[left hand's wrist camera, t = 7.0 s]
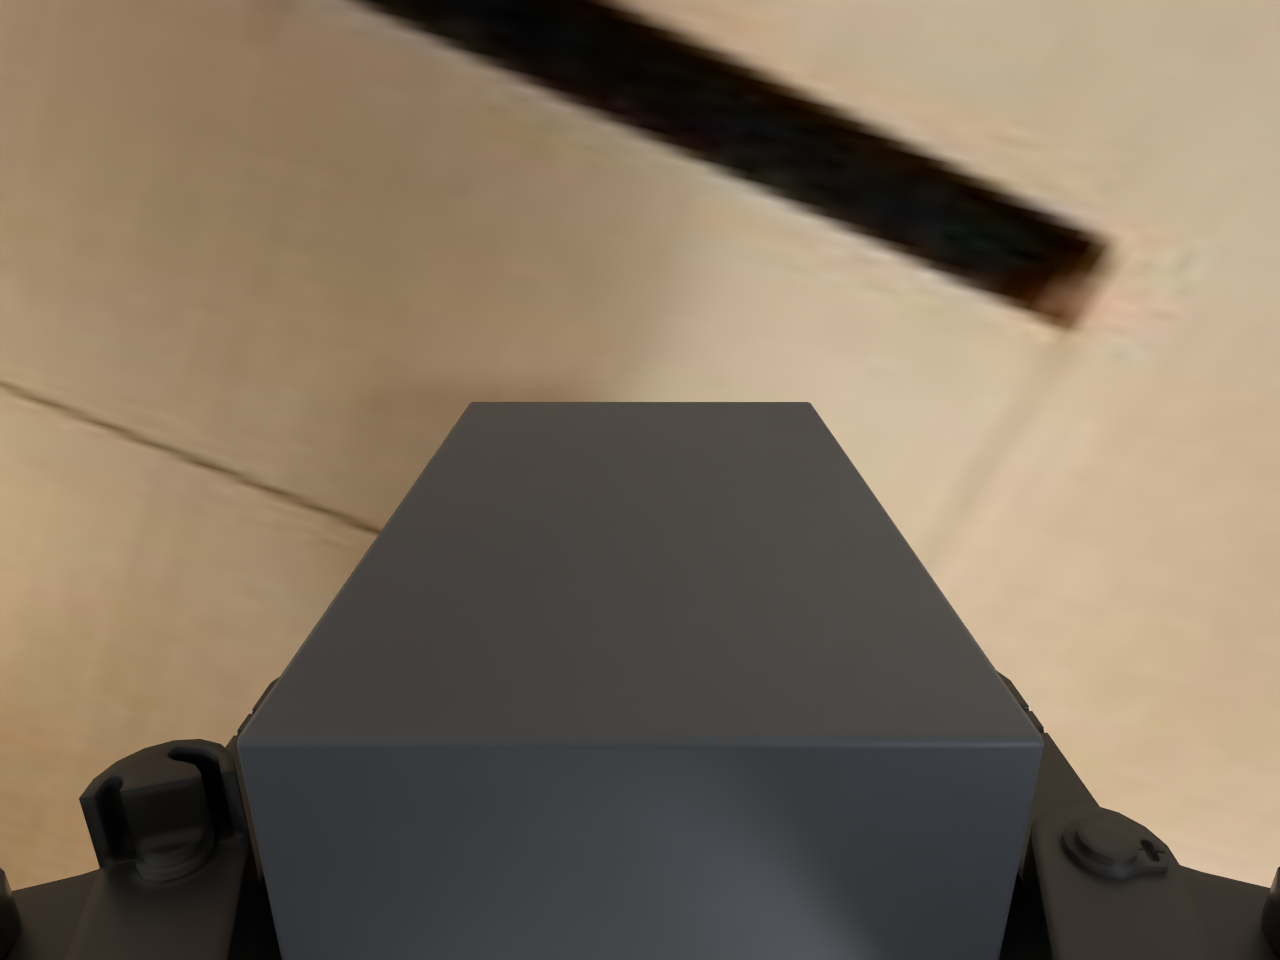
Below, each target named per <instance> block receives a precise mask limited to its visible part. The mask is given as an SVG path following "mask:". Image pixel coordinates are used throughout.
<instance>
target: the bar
mask: <svg viewBox="0 0 1280 960" xmlns="http://www.w3.org/2000/svg"><path fill="white" fill-rule="evenodd" d="M1043 748H1044V742H1043V739H1042V736H1041V735H1040V733H1039V732H1038V730H1037V729H1036V727H1035V726H1034V724H1033V723H1032V722H1031V720H1030V719H1029V717H1028V716H1027V714H1026V713H1025V711H1024V710H1023V709H1022V707H1021V706H1020V704H1019V703H1018V701H1017V700H1016V698H1015V697H1014V696H1013V694H1012V693H1011V691H1010V690H1009V688H1008V687H1007V686H1006V684H1005V683H1004V681H1003V680H1002V678H1001V677H1000V675H999V674H998V673H997V671H996V670H995V668H994V667H993V665H992V664H991V662H990V661H989V660H988V658H987V657H986V655H985V654H984V652H983V651H982V650H981V648H980V647H979V645H978V644H977V642H976V641H975V639H974V638H973V637H972V635H971V634H970V632H969V631H968V629H967V628H966V626H965V625H964V624H963V622H962V621H961V619H960V618H959V616H958V615H957V614H956V612H955V611H954V609H953V608H952V606H951V605H950V603H949V602H948V601H947V599H946V598H945V596H944V595H943V593H942V592H941V590H940V589H939V588H938V586H937V585H936V583H935V582H934V580H933V579H932V577H931V576H930V575H929V573H928V572H927V570H926V569H925V567H924V566H923V565H922V563H921V562H920V560H919V559H918V557H917V556H916V554H915V553H914V552H913V550H912V549H911V547H910V546H909V544H908V543H907V541H906V540H905V539H904V537H903V536H902V534H901V533H900V531H899V530H898V529H897V527H896V526H895V524H894V523H893V521H892V520H891V518H890V517H889V516H888V514H887V513H886V511H885V510H884V508H883V507H882V505H881V504H880V503H879V501H878V500H877V498H876V497H875V495H874V494H873V493H872V491H871V490H870V488H869V487H868V485H867V484H866V482H865V481H864V480H863V478H862V477H861V475H860V474H859V472H858V471H857V469H856V468H855V467H854V465H853V464H852V462H851V461H850V459H849V458H848V456H847V455H846V454H845V452H844V451H843V449H842V448H841V446H840V445H839V444H838V442H837V441H836V439H835V438H834V436H833V435H832V433H831V432H830V431H829V429H828V428H827V426H826V425H825V423H824V422H823V420H822V419H821V418H820V416H819V415H818V413H817V412H816V410H815V409H814V408H813V406H812V405H811V403H808V402H472V403H470V404H469V406H468V407H467V409H466V410H465V411H464V413H463V414H462V416H461V417H460V419H459V420H458V422H457V423H456V424H455V426H454V427H453V429H452V430H451V432H450V433H449V435H448V436H447V437H446V439H445V440H444V442H443V443H442V445H441V446H440V447H439V449H438V450H437V452H436V453H435V455H434V456H433V458H432V459H431V460H430V462H429V463H428V465H427V466H426V468H425V469H424V470H423V472H422V473H421V475H420V476H419V478H418V479H417V481H416V482H415V483H414V485H413V486H412V488H411V489H410V491H409V492H408V493H407V495H406V496H405V498H404V499H403V501H402V502H401V504H400V505H399V506H398V508H397V509H396V511H395V512H394V514H393V515H392V516H391V518H390V519H389V521H388V522H387V524H386V525H385V527H384V528H383V529H382V531H381V532H380V534H379V535H378V537H377V538H376V539H375V541H374V542H373V544H372V545H371V547H370V548H369V550H368V551H367V552H366V554H365V555H364V557H363V558H362V560H361V561H360V563H359V564H358V565H357V567H356V568H355V570H354V571H353V573H352V574H351V575H350V577H349V578H348V580H347V581H346V583H345V584H344V586H343V587H342V588H341V590H340V591H339V593H338V594H337V596H336V597H335V598H334V600H333V601H332V603H331V604H330V606H329V607H328V609H327V610H326V611H325V613H324V614H323V616H322V617H321V619H320V620H319V621H318V623H317V624H316V626H315V627H314V629H313V630H312V632H311V633H310V634H309V636H308V637H307V639H306V640H305V642H304V643H303V644H302V646H301V647H300V649H299V650H298V652H297V653H296V655H295V656H294V657H293V659H292V660H291V662H290V663H289V665H288V666H287V667H286V669H285V670H284V672H283V673H282V675H281V676H280V678H279V679H278V680H277V682H276V683H275V685H274V686H273V688H272V689H271V691H270V692H269V693H268V695H267V696H266V698H265V699H264V701H263V702H262V703H261V705H260V706H259V708H258V709H257V711H256V712H255V714H254V715H253V716H252V718H251V719H250V721H249V722H248V724H247V725H246V726H245V728H244V729H243V731H242V732H241V734H240V735H239V737H238V741H237V750H238V754H239V759H240V764H241V768H242V773H243V778H244V783H245V787H246V792H247V797H248V802H249V806H250V811H251V816H252V821H253V825H254V830H255V835H256V839H257V844H258V849H259V854H260V858H261V863H262V868H263V873H264V877H265V882H266V887H267V891H268V896H269V901H270V906H271V910H272V915H273V920H274V925H275V929H276V934H277V939H278V943H279V948H280V953H281V958H282V960H999V956H1000V951H1001V946H1002V942H1003V937H1004V932H1005V927H1006V923H1007V918H1008V913H1009V909H1010V904H1011V899H1012V894H1013V890H1014V885H1015V880H1016V876H1017V871H1018V866H1019V861H1020V857H1021V852H1022V847H1023V843H1024V838H1025V833H1026V828H1027V824H1028V819H1029V814H1030V810H1031V805H1032V800H1033V795H1034V791H1035V786H1036V781H1037V777H1038V772H1039V767H1040V762H1041V758H1042V753H1043Z"/></svg>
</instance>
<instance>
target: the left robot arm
mask: <svg viewBox="0 0 1280 960" xmlns="http://www.w3.org/2000/svg"><path fill="white" fill-rule="evenodd" d="M997 673H998V674H999V675H1000V677H1001V678H1002V680H1003V681H1004V683H1005V684H1006V686H1007V687H1008V688H1009V690H1010V691H1011V693H1012V694H1013V696H1014V697H1015V698H1016V700H1017V701H1018V703H1019V704H1020V706H1021V707H1022V709H1023V710H1024V711H1025V713H1026V714H1027V716H1028V717H1029V719H1030V720H1031V722H1032V723H1033V724H1034V726H1035V727H1036V729H1037V730H1038V732H1039V733H1040V735H1041V736H1042V739H1043V742H1044V748H1043V753H1042V758H1041V762H1040V767H1039V772H1038V777H1037V781H1036V786H1035V791H1034V795H1033V800H1032V805H1031V810H1030V814H1029V819H1028V824H1027V828H1026V833H1025V838H1024V843H1023V847H1022V852H1021V857H1020V861H1019V866H1018V871H1017V876H1016V880H1015V885H1014V890H1013V894H1012V899H1011V904H1010V909H1009V913H1008V918H1007V923H1006V927H1005V932H1004V937H1003V942H1002V946H1001V951H1000V956H999V960H1280V867H1279V868H1278V869H1277V872H1276V875H1275V877H1274V880H1273V883H1272V886H1271V888H1267V887H1263V886H1258V885H1254V884H1250V883H1246V882H1242V881H1237V880H1233V879H1229V878H1225V877H1220V876H1216V875H1212V874H1208V873H1204V872H1200V871H1197V870H1193V869H1190V868H1187V867H1184V866H1181V865H1179V863H1178V862H1177V860H1176V859H1175V857H1174V855H1173V854H1172V852H1171V851H1170V849H1169V848H1168V846H1167V845H1166V844H1165V843H1164V842H1162V841H1161V840H1160V839H1159V838H1158V837H1157V836H1155V835H1154V834H1153V833H1152V832H1151V831H1150V830H1148V829H1147V828H1146V827H1145V826H1143V825H1141V824H1139V823H1137V822H1135V821H1133V820H1131V819H1130V818H1128V817H1126V816H1124V815H1122V814H1120V813H1118V812H1115V811H1112V810H1108V809H1105V808H1102V807H1100V806H1099V805H1098V804H1097V802H1096V801H1095V799H1094V798H1093V797H1092V795H1091V794H1090V792H1089V791H1088V790H1087V788H1086V787H1085V785H1084V784H1083V782H1082V781H1081V780H1080V778H1079V777H1078V775H1077V774H1076V773H1075V771H1074V770H1073V768H1072V767H1071V765H1070V764H1069V763H1068V761H1067V760H1066V758H1065V757H1064V756H1063V754H1062V753H1061V751H1060V750H1059V749H1058V747H1057V746H1056V744H1055V743H1054V741H1053V740H1052V739H1051V737H1050V736H1049V734H1048V733H1044V730H1043V728H1044V727H1043V726H1042V724H1041V723H1040V722H1039V720H1038V719H1037V717H1036V716H1035V715H1034V713H1033V712H1032V711H1029V709H1028V707H1029V706H1028V705H1027V703H1026V702H1025V700H1024V699H1023V698H1022V696H1021V695H1020V693H1019V692H1018V691H1017V689H1016V688H1015V686H1014V685H1013V683H1012V682H1011V681H1010V680H1009V679H1007V678H1006V677H1005V676H1003V675H1002V674H1001V673H999V672H998V671H997ZM279 678H280V677H279ZM279 678H277V679H276V680H274V681H273V682H272V683H270V685H269V686H268V688H267V689H266V691H265V692H264V693H263V695H262V696H261V698H260V699H259V701H258V702H257V703H256V705H255V706H254V708H253V712H252V714H249V715H248V716H247V718H246V719H245V720H244V722H243V723H242V725H241V726H240V728H239V729H238V734H237V736H233V738H232V739H231V740H230V742H229V743H228V745H227V746H226V747H224V746H222V745H221V744H219V743H214V742H210V741H206V740H202V739H193V740H176V741H170V742H167V743H163V744H159V745H155V746H152V747H148V748H144V749H142V750H140V751H138V752H136V753H134V754H132V755H130V756H128V757H126V758H123V759H121V760H119V761H117V762H116V763H114V764H113V765H112V766H110V767H109V768H108V769H106V770H105V771H104V772H102V773H101V774H100V775H98V776H97V777H96V778H94V779H93V780H92V782H91V783H90V785H89V786H88V787H87V789H86V790H85V791H84V793H83V794H82V795H81V797H80V798H79V800H80V803H81V806H82V810H83V813H84V816H85V820H86V823H87V826H88V830H89V833H90V836H91V839H92V843H93V846H94V849H95V853H96V856H97V859H98V863H99V866H100V868H99V869H98V870H95V871H92V872H89V873H85V874H82V875H79V876H75V877H70V878H66V879H62V880H58V881H54V882H49V883H45V884H41V885H37V886H33V887H28V888H24V889H20V890H16V891H12V892H11V889H10V886H9V884H8V881H7V878H6V875H5V872H4V871H3V870H2V869H1V868H0V960H282V958H281V953H280V948H279V943H278V939H277V934H276V929H275V925H274V920H273V915H272V910H271V906H270V901H269V896H268V891H267V887H266V882H265V877H264V873H263V868H262V863H261V858H260V854H259V849H258V844H257V839H256V835H255V830H254V825H253V821H252V816H251V811H250V806H249V802H248V797H247V792H246V787H245V783H244V778H243V773H242V768H241V764H240V759H239V754H238V750H237V741H238V737H239V735H240V734H241V732H242V731H243V729H244V728H245V726H246V725H247V724H248V722H249V721H250V719H251V718H252V716H253V715H254V714H255V712H256V711H257V709H258V708H259V706H260V705H261V703H262V702H263V701H264V699H265V698H266V696H267V695H268V693H269V692H270V691H271V689H272V688H273V686H274V685H275V683H276V682H277V680H278V679H279Z"/></svg>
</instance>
